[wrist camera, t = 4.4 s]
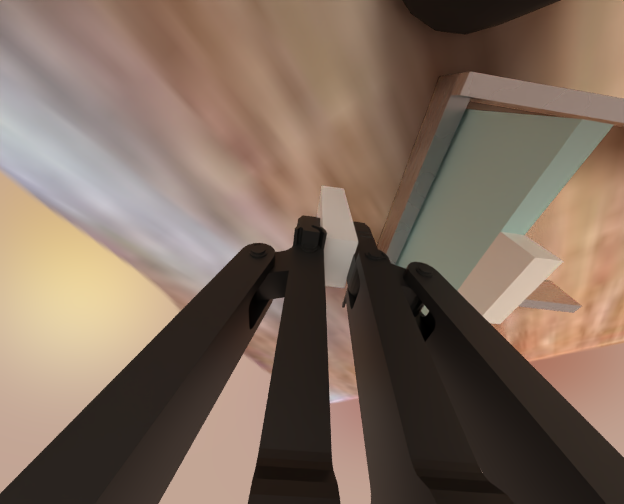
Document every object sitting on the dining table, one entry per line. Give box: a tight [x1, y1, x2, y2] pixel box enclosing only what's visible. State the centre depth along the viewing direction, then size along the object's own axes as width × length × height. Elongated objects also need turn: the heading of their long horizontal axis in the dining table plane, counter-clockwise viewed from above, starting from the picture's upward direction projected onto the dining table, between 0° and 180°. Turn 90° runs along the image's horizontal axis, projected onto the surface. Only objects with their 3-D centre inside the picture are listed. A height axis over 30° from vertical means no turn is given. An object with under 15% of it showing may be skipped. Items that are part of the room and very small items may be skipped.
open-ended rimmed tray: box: [377, 71, 624, 313], centre depth 18 cm, size 20×16×4 cm
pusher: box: [395, 109, 614, 324], centre depth 14 cm, size 1×13×11 cm, turn 173°
